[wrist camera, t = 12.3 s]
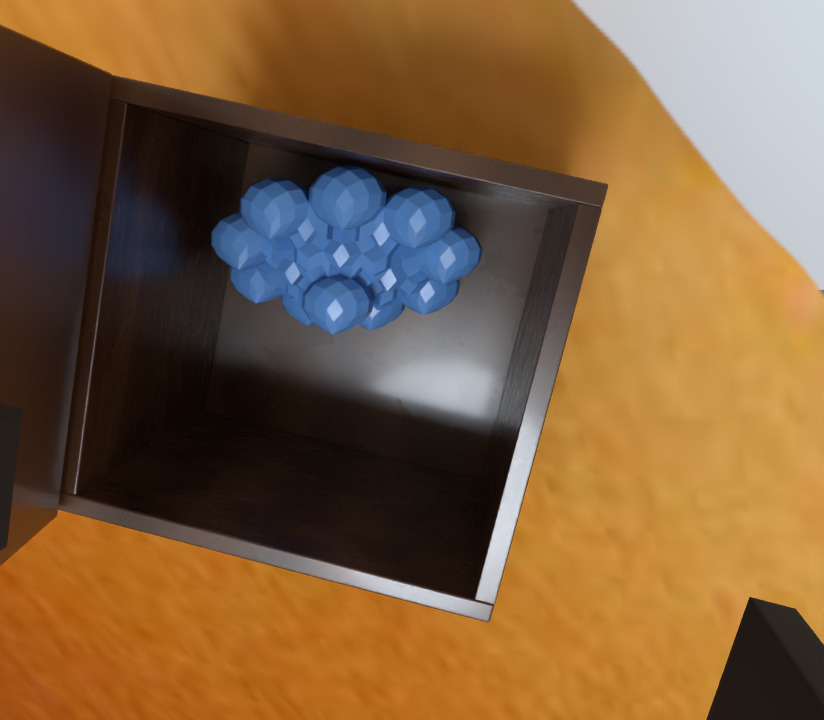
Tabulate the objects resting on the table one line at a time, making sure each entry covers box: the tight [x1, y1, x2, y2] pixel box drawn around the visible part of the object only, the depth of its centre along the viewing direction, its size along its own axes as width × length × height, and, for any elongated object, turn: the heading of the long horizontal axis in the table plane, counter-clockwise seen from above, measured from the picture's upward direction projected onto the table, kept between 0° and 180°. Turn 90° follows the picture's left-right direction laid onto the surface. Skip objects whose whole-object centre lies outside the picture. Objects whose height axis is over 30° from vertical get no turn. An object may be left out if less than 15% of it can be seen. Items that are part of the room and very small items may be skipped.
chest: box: [58, 75, 608, 622], centre depth 33 cm, size 18×17×14 cm
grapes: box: [211, 165, 483, 335], centre depth 33 cm, size 12×7×12 cm
